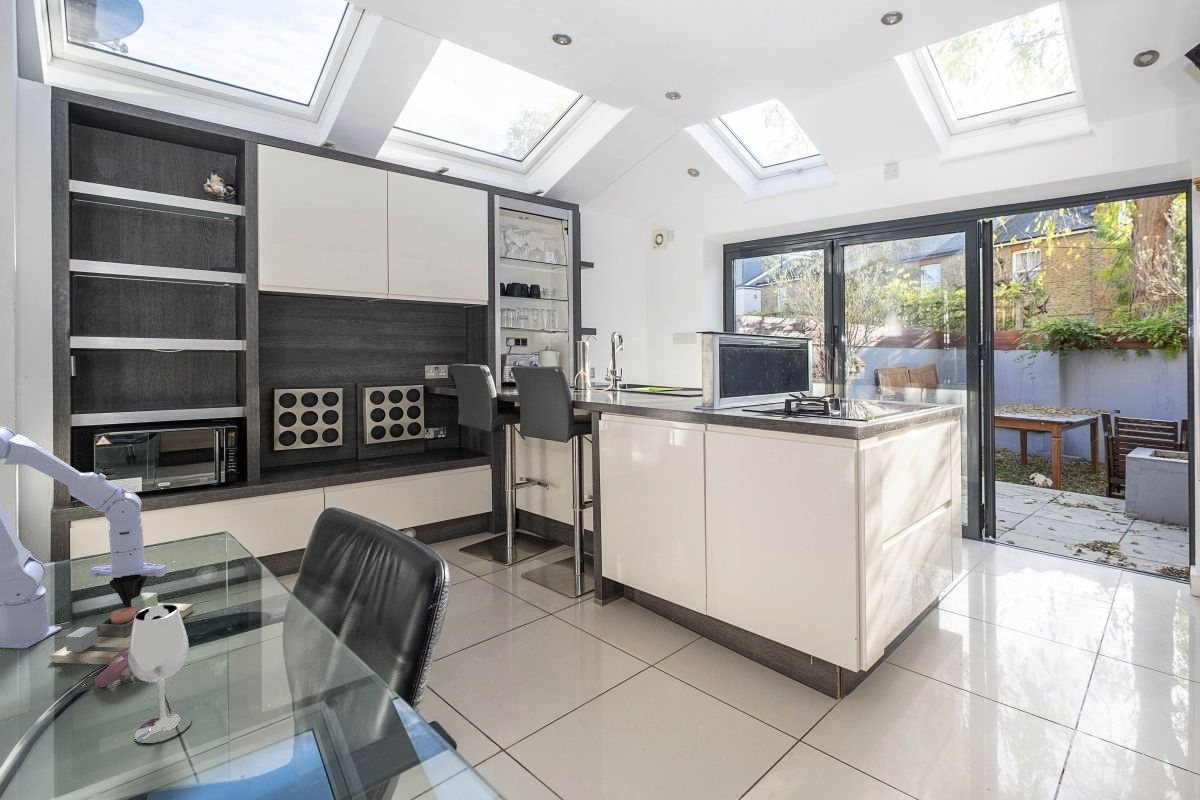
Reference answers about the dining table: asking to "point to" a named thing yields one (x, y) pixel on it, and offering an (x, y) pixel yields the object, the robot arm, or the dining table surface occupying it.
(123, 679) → the video game controller
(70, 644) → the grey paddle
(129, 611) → the pink round button
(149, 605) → the pale green block
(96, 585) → the dining table surface
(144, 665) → the wineglass
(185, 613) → the control board
